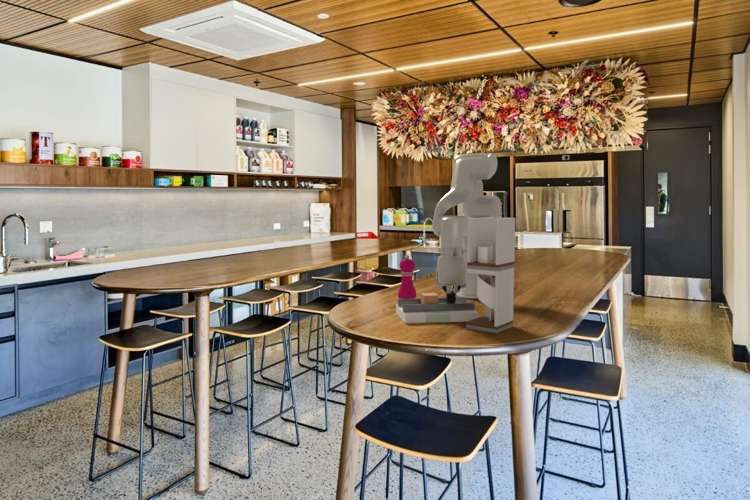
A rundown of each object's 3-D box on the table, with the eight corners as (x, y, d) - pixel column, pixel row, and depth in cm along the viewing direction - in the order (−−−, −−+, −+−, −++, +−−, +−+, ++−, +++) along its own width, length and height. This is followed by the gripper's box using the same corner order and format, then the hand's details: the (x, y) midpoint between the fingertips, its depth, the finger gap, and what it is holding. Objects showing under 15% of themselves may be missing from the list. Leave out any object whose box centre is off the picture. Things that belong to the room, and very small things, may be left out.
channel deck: (462, 310, 197) (462, 302, 197) (477, 321, 179) (478, 312, 179) (395, 312, 194) (396, 304, 194) (404, 323, 176) (405, 314, 176)
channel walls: (465, 303, 193) (465, 297, 193) (474, 310, 182) (475, 303, 182) (397, 305, 190) (397, 298, 190) (403, 312, 179) (403, 305, 179)
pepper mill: (409, 308, 199) (409, 256, 198) (393, 306, 204) (394, 254, 202) (420, 305, 205) (420, 254, 203) (404, 303, 210) (404, 253, 208)
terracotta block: (434, 306, 188) (434, 292, 188) (438, 309, 183) (438, 295, 183) (420, 307, 188) (420, 293, 187) (424, 310, 183) (424, 295, 182)
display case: (483, 321, 178) (485, 217, 175) (513, 326, 171) (515, 218, 168) (466, 328, 169) (467, 218, 166) (496, 333, 163) (499, 219, 159)
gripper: (469, 251, 190) (468, 301, 191) (428, 251, 188) (427, 302, 190) (475, 253, 182) (474, 305, 184) (432, 253, 181) (432, 307, 182)
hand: (450, 304), depth 187 cm, fingers closed
